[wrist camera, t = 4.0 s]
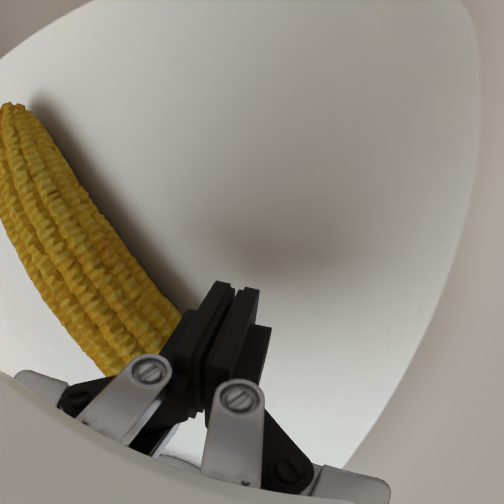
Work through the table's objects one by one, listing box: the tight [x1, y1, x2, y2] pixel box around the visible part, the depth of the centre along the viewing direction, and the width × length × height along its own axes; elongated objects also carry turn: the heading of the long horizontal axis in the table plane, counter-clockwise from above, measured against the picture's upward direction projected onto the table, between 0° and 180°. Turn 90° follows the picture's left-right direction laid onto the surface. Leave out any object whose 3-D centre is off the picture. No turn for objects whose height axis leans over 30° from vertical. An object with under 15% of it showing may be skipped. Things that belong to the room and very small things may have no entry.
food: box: [0, 102, 182, 377], centre depth 13 cm, size 21×6×6 cm, turn 37°
